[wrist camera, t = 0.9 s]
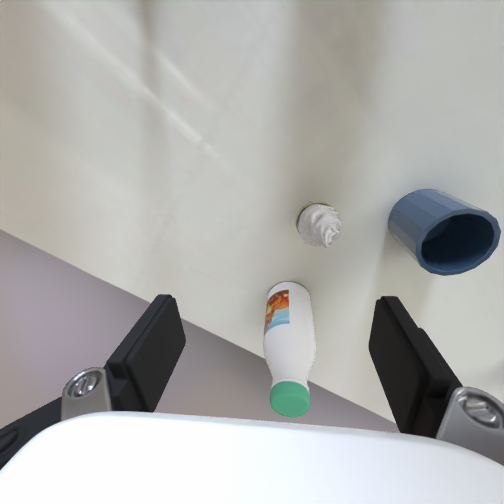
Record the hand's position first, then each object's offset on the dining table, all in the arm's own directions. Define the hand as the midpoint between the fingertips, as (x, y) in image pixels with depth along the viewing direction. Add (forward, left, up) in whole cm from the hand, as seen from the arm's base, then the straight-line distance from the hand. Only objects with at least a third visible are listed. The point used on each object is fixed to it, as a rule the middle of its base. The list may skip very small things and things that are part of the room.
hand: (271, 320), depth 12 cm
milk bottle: (+20, -2, -29) cm, 35 cm away
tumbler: (+8, +19, -28) cm, 35 cm away
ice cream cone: (+3, +4, -29) cm, 29 cm away
